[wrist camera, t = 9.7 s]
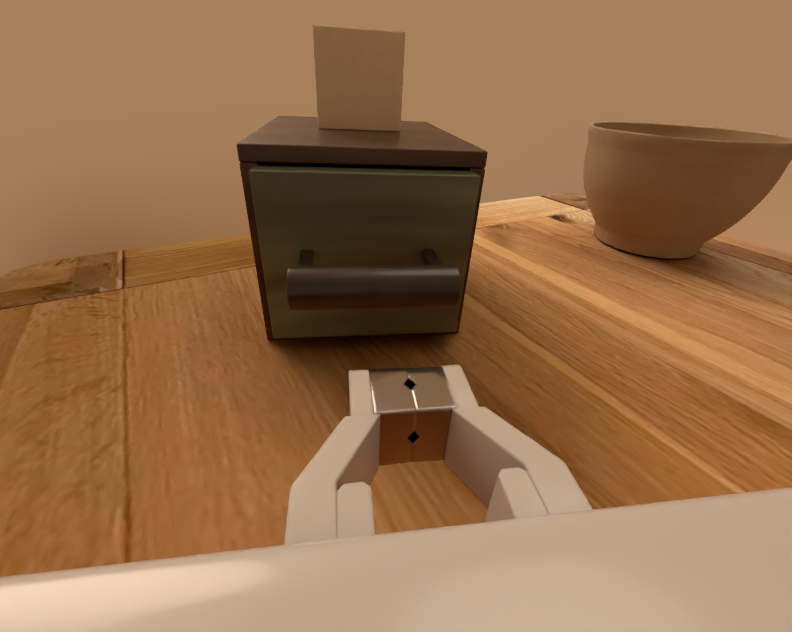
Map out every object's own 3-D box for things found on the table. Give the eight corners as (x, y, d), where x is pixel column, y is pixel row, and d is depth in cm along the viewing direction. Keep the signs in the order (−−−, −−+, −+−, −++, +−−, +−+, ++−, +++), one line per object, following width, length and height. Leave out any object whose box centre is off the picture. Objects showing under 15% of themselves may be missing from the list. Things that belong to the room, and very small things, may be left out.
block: (318, 128, 23) (312, 24, 20) (321, 120, 27) (316, 33, 24) (400, 131, 23) (405, 31, 21) (390, 123, 28) (393, 39, 25)
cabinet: (458, 333, 24) (488, 151, 18) (267, 340, 22) (235, 143, 17) (416, 246, 36) (426, 122, 30) (291, 246, 34) (278, 115, 29)
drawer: (480, 382, 19) (520, 201, 14) (259, 395, 17) (222, 197, 12) (415, 246, 34) (424, 137, 29) (295, 247, 32) (284, 132, 27)
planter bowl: (579, 211, 50) (607, 117, 44) (731, 241, 42) (790, 133, 36) (540, 244, 38) (572, 124, 32) (739, 294, 30) (827, 148, 25)
